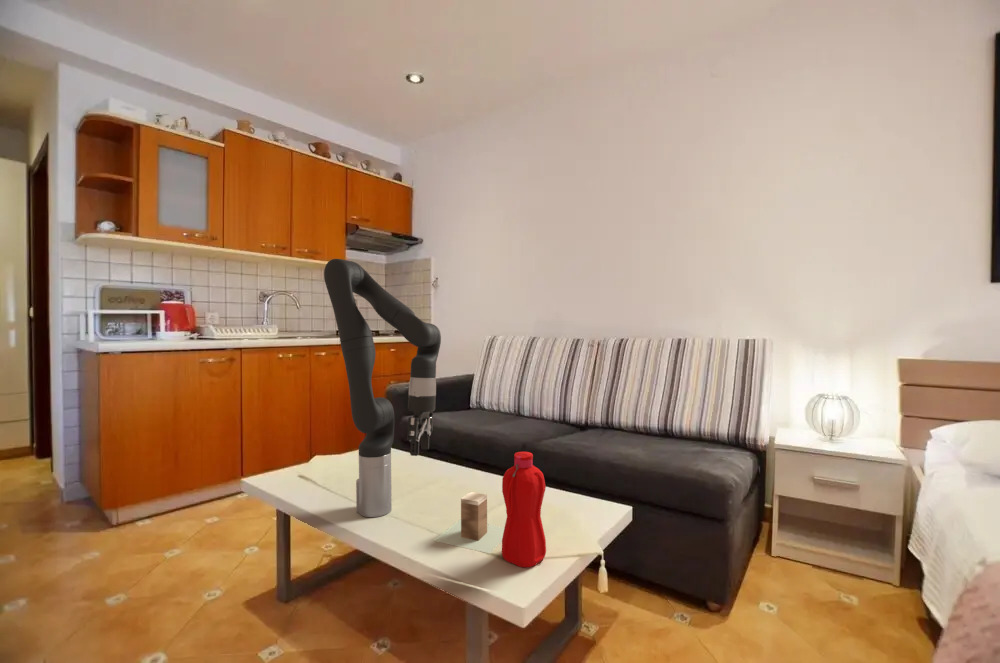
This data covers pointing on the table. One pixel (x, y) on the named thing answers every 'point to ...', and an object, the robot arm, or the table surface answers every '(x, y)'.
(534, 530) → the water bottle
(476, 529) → the walnut block
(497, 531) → the sage mat
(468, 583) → the table surface
